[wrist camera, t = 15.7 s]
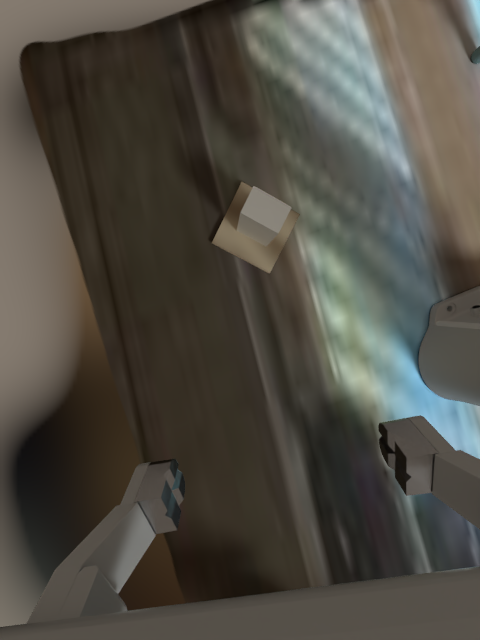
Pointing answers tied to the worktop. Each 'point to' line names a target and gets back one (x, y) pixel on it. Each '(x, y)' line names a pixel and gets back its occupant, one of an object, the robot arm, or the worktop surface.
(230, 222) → the tan base plate
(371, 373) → the worktop surface
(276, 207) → the grey rectangular block
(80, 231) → the worktop surface
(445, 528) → the worktop surface
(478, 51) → the hook
